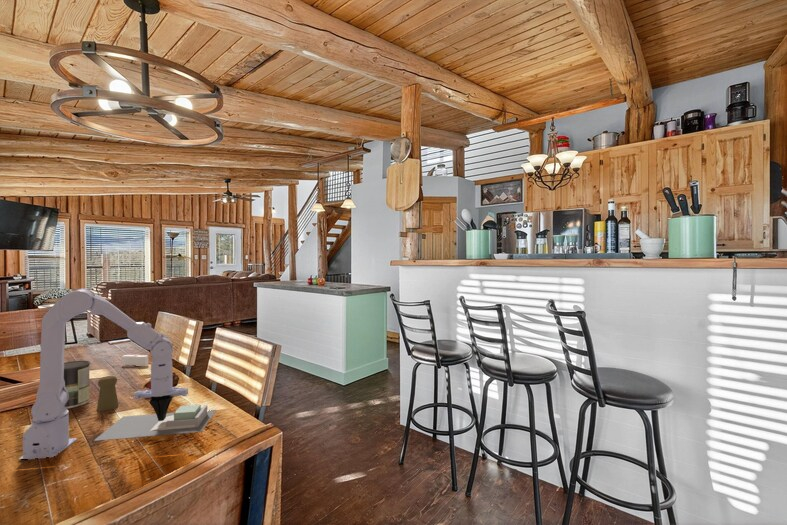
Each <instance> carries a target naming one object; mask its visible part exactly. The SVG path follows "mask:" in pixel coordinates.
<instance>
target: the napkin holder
mask: <svg viewBox="0 0 787 525" xmlns="http://www.w3.org/2000/svg"><path fill="white" fill-rule="evenodd" d="M122 365H136V366H146V365H148V366H149V355H146V354H145V355H143V354H142V355H140V354H124V355H122V356H121V366H122ZM146 367H147V366H146Z"/></svg>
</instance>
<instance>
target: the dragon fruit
mask: <svg viewBox="0 0 787 525" xmlns="http://www.w3.org/2000/svg"><path fill="white" fill-rule="evenodd" d="M179 380H180V377H179V375H177V374H176V372H172V387H174V388H177V386H178V385H179ZM145 388H147V390H149V389H151V378H150V379H149V380H148V381H147V382H146V383H145V384H144V386H143V389H145Z"/></svg>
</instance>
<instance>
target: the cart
mask: <svg viewBox="0 0 787 525" xmlns="http://www.w3.org/2000/svg"><path fill="white" fill-rule="evenodd" d="M201 406H202V405H201V404H193V405H192V404H190V405H180V406H179V407H178V408H177V409H176V410H175V412H173V413H174V420H186V419H195V417H196V415H197V414H198V413H199V411H200V410H201V408H202V407H201Z"/></svg>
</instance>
